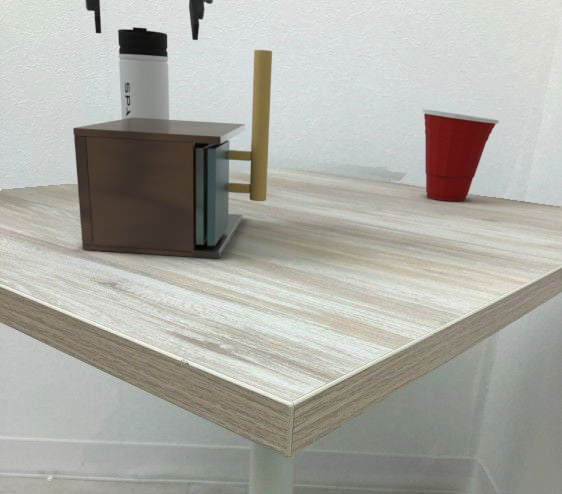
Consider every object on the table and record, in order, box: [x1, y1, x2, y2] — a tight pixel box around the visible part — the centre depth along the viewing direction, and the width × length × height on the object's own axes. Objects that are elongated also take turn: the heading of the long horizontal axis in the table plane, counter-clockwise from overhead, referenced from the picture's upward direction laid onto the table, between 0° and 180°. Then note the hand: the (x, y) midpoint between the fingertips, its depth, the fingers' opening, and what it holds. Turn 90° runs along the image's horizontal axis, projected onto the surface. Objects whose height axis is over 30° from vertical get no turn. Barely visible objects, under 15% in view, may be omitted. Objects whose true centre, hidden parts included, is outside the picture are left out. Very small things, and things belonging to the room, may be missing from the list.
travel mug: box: [117, 26, 170, 120], centre depth 86 cm, size 6×7×20 cm
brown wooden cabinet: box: [72, 118, 246, 260], centre depth 63 cm, size 12×18×10 cm
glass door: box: [207, 49, 273, 246], centre depth 58 cm, size 4×8×16 cm, turn 176°
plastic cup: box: [422, 108, 500, 202], centre depth 94 cm, size 11×11×12 cm
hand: (147, 29), depth 91 cm, fingers open, 13 cm apart
